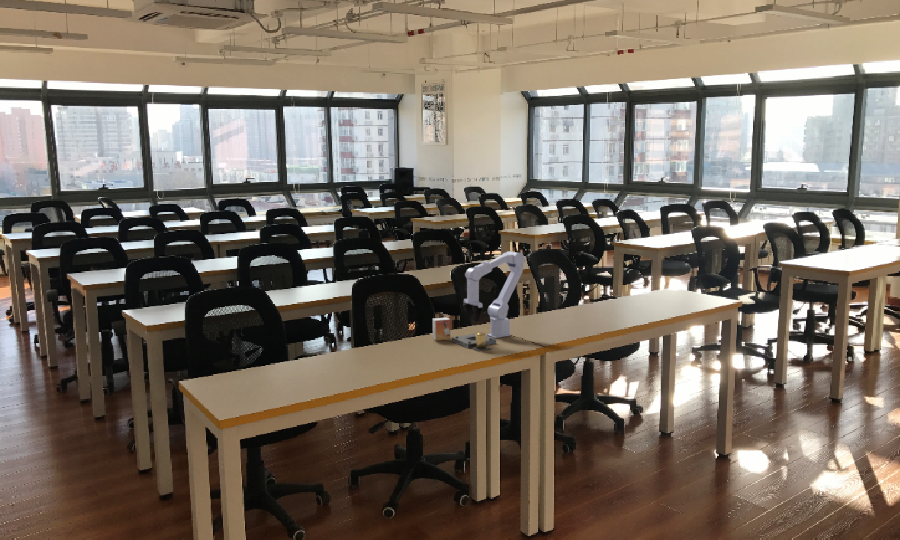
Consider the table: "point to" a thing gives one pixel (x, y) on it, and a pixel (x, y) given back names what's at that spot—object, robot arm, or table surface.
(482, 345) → the brass cylinder
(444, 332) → the small box
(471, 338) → the housing
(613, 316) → the table surface
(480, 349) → the mat
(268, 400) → the table surface
